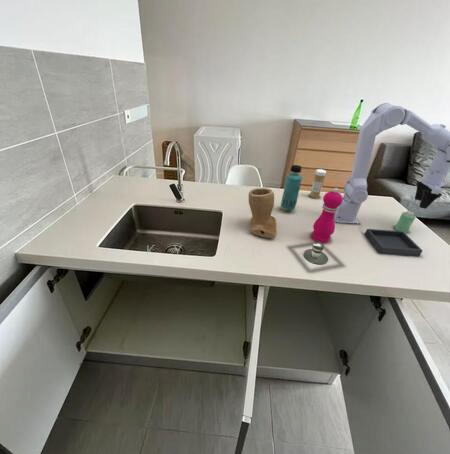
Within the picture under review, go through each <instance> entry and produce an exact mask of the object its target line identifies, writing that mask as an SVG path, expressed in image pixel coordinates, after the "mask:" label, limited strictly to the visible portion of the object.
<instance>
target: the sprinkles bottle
mask: <svg viewBox="0 0 450 454" xmlns="http://www.w3.org/2000/svg"><path fill="white" fill-rule="evenodd" d="M326 175H327V170H325V169H322V168H319V169H315V175H314V179H313V182H312V186H311V191H310V194H309V197H310V198H312V199H319V198H320V195H321V192H322V190H323V189H322V188H323V184H324V180H325V177H326Z"/></svg>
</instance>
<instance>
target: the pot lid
mask: <svg viewBox="0 0 450 454" xmlns="http://www.w3.org/2000/svg"><path fill="white" fill-rule="evenodd" d="M324 246H325V245H324V243H321V242H318V241H314V242H313V243H312V247H311V248H308V249H306V250H304V251H303V256H304V258H305V259H306V261H308V262H310V263H312V264H314V265H325V264H326V263H328V261H329V257H328V255H327V254H326V253H325V252H323V250H324Z"/></svg>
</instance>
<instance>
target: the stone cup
mask: <svg viewBox="0 0 450 454" xmlns="http://www.w3.org/2000/svg"><path fill="white" fill-rule="evenodd" d="M248 205H249V208H250V212H251V218H250V222H249V223H250V225H249V231H250V232H251V233H252V234H254V235H256V236H258V237H261V238H267V239H273V238H276V237H277V232H278V231H277V220H276V219H277V218H276V217H275V216H272V213H273V210H274V205H275V193H274V191H273V190H272V189H271V188H268V187H256V188H253V189H250V190H249V192H248Z"/></svg>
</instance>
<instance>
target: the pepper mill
mask: <svg viewBox="0 0 450 454" xmlns="http://www.w3.org/2000/svg"><path fill="white" fill-rule="evenodd" d="M342 197H343V195H342V194H341V193H340V192H339V188H338V187H334V188H333V189H332V191H331V190H330V191H328V192H326V193H325V194H324V195H323V198H322V207H321V208H322V211H321V214H320V215H319V217H318V218H317V219H316V220H315V222H314V223H313V225H312V229H313V231H312V233H311V238H312V239H313V240H314V241H315V242H320V243H322V244H326V243H329V242H330V240H331V236H332V235H333V234H334V233H335V229H336V226H335V225H336V224H335V220H334V215H335V212H337V211H338V206H340V205H341V204H342V201H343V198H342Z"/></svg>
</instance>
